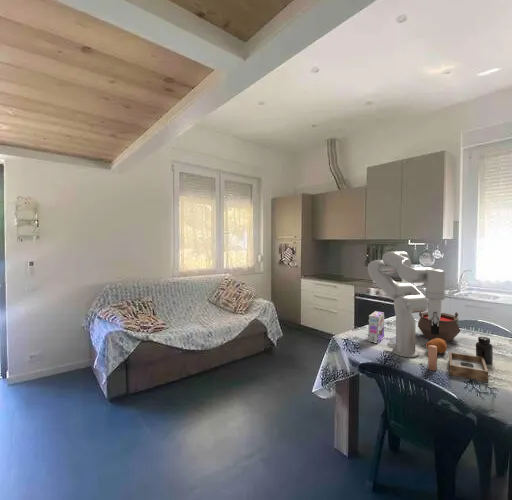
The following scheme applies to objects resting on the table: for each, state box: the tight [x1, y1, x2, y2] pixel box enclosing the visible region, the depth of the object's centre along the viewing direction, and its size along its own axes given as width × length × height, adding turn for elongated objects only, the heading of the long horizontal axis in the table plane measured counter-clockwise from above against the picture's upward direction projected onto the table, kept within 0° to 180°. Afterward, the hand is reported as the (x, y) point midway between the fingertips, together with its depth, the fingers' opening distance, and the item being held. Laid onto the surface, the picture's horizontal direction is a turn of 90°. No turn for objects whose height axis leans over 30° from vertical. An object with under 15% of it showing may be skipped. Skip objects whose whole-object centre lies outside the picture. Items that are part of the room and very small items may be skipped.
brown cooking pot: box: [417, 311, 461, 343], centre depth 187 cm, size 24×24×16 cm
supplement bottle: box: [475, 336, 494, 365], centre depth 152 cm, size 7×7×12 cm
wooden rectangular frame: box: [448, 351, 489, 382], centre depth 143 cm, size 14×18×4 cm
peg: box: [427, 345, 438, 372], centre depth 145 cm, size 4×4×11 cm
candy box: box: [367, 310, 385, 344], centre depth 186 cm, size 14×6×16 cm, turn 143°
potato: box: [425, 338, 448, 354], centre depth 165 cm, size 9×11×8 cm
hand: (434, 331), depth 144 cm, fingers open, 9 cm apart
